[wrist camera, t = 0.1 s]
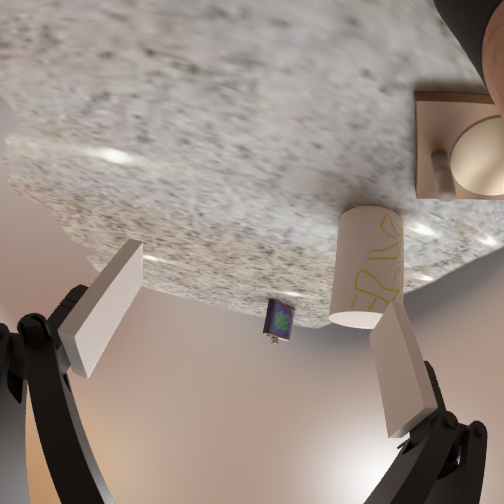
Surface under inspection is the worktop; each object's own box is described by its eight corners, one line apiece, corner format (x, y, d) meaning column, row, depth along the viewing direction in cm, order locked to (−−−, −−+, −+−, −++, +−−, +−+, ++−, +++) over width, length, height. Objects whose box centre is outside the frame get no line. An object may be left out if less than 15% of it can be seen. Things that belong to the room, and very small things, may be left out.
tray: (415, 188, 27) (419, 233, 25) (413, 92, 17) (426, 139, 15) (541, 193, 20) (553, 236, 18) (575, 110, 10) (601, 157, 8)
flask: (297, 308, 80) (290, 347, 76) (289, 309, 82) (282, 347, 78) (273, 298, 75) (265, 340, 71) (265, 299, 77) (257, 339, 73)
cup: (415, 225, 33) (415, 323, 28) (371, 245, 40) (364, 331, 35) (370, 196, 30) (365, 307, 26) (326, 223, 37) (314, 317, 33)
